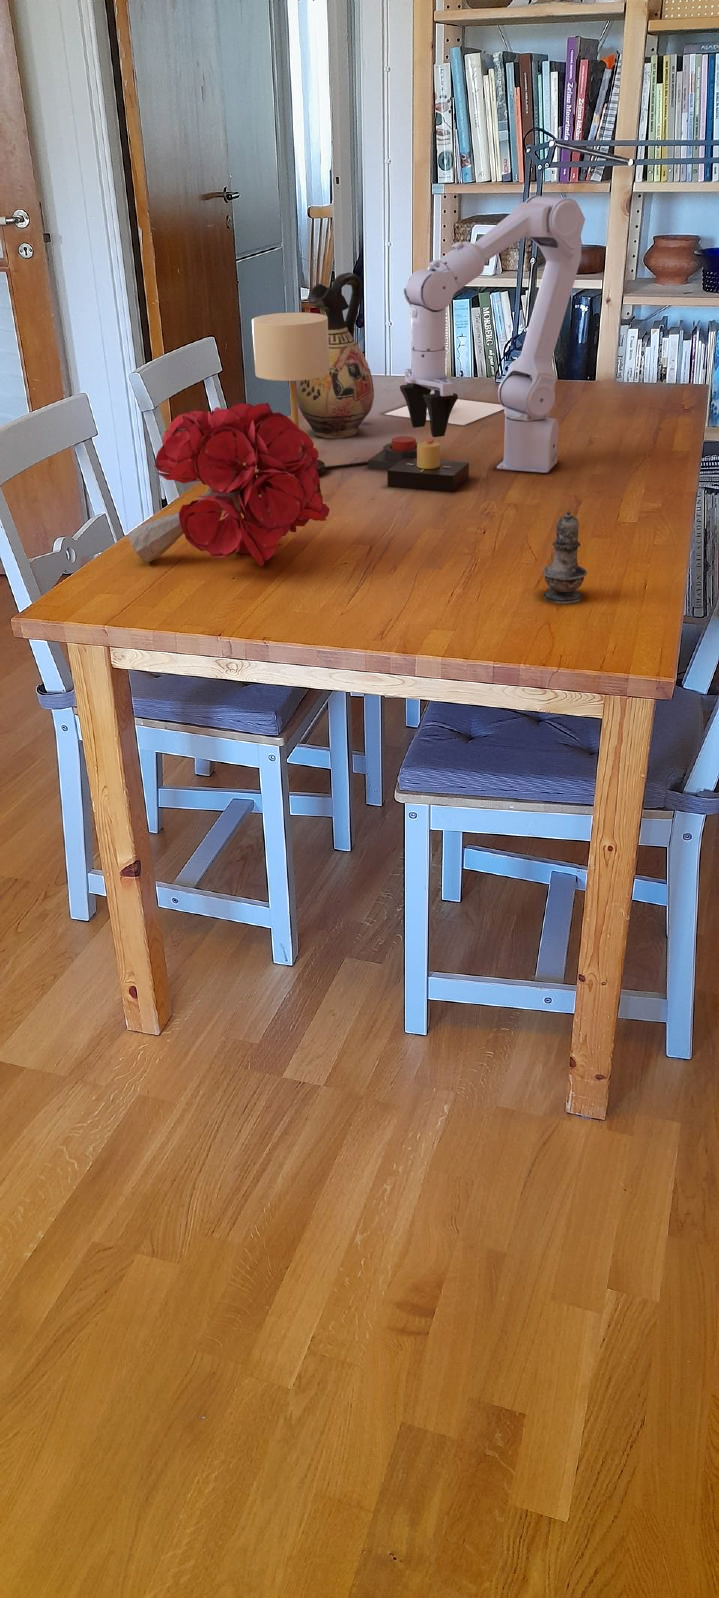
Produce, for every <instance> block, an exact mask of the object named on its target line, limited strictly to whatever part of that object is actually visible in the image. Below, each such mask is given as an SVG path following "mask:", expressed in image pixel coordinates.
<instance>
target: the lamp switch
mask: <svg viewBox="0 0 719 1598" xmlns="http://www.w3.org/2000/svg"><path fill="white" fill-rule="evenodd" d="M391 443H392V449H394V450H412V449H416V443H417V439H416V438H415V437H413V436H409V435H407V436H406V435H405V436H403V435H402V436H400V435H399V436H395V437H393V438H391Z"/></svg>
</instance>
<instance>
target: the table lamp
mask: <svg viewBox="0 0 719 1598" xmlns="http://www.w3.org/2000/svg"><path fill="white" fill-rule="evenodd" d="M251 327H252V328H251V329H252V343H253V356H254V357H253V358H254V372H255V376H256V377H257V378H258V379H262V380H268V381H275V382H289V397H290V399H289V400H290V415H291V420H292V421H293V422H294V423H295V424H296V425H297V426H298V427H299V428H300V426H299V425H300V424H299V423H300V422H299V406H298V401H297V385H298V380H308V379H315V378H319V377H323V376H325V375H327V374H329V372H330V367H329V339H328V317H327V315H325V314H322V313H315V312H278V313H269V314H263V315H259V316H255V317H253V318H252V319H251ZM316 460H317V463H318V470H317V472H318V475H319V477H322V476H323V475H325V474H326V471H328V470H334V469H335V470H336V469H345V468H351V467H352V468H353V467H361V466H368V461H361V462H353V463H343V464H338V465H337V464H336V465H328V466H326V464H325V462H324V461H323V460H320V459H318V458H317V459H316Z"/></svg>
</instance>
